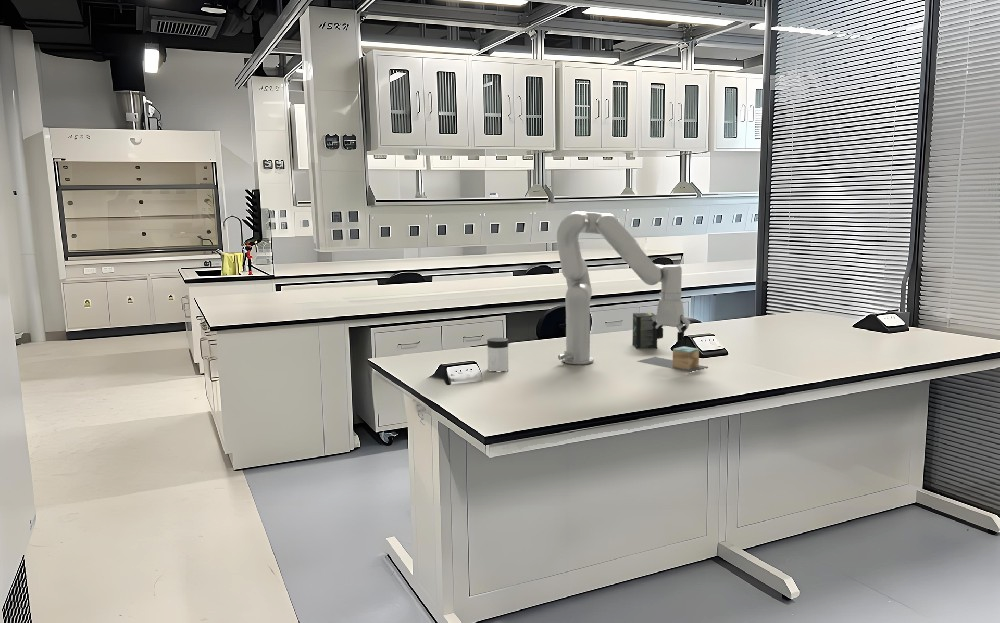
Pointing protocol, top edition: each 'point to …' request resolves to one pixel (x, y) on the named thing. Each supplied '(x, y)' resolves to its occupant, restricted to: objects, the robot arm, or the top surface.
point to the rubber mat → (667, 363)
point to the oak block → (685, 357)
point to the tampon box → (644, 331)
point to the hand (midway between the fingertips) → (670, 340)
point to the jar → (497, 354)
